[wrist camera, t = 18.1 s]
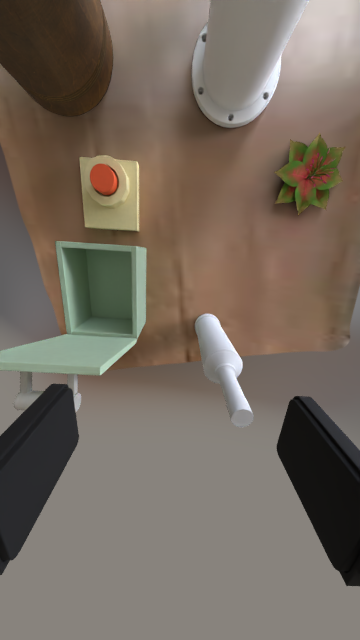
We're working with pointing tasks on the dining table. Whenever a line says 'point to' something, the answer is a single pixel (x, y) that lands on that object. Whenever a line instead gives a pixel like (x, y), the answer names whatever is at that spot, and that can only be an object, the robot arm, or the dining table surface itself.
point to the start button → (103, 179)
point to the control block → (111, 196)
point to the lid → (62, 361)
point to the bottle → (223, 367)
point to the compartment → (102, 288)
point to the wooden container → (57, 51)
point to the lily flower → (309, 174)
